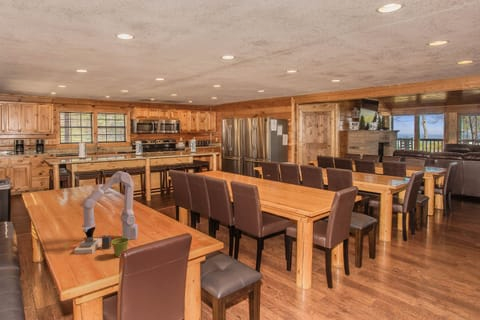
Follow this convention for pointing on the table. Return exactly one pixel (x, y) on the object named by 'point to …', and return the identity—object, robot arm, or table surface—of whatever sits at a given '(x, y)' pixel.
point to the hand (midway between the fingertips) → (89, 239)
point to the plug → (106, 242)
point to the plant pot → (119, 245)
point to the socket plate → (88, 249)
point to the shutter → (87, 242)
